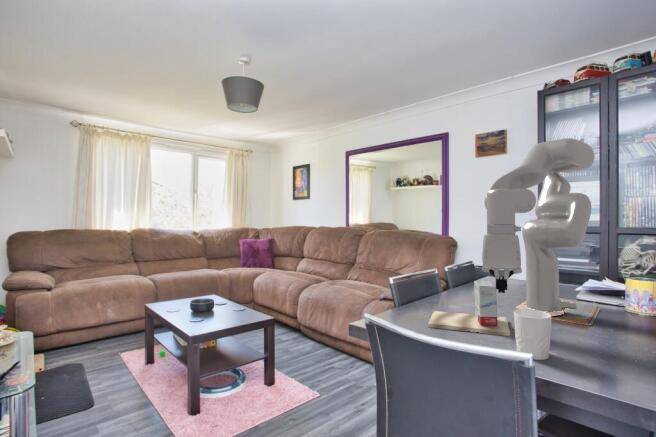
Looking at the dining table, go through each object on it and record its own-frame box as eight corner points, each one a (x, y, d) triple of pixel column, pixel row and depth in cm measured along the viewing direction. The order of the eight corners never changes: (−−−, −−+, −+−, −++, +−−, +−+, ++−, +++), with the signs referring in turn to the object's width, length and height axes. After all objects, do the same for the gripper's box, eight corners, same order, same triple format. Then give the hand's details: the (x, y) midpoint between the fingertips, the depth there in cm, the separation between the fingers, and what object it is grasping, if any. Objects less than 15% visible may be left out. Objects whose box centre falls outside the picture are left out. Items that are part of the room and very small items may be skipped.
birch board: (506, 321, 108) (506, 317, 108) (510, 336, 96) (510, 331, 96) (433, 314, 117) (433, 310, 117) (428, 327, 104) (428, 323, 104)
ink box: (498, 326, 100) (497, 286, 100) (480, 326, 101) (478, 286, 101) (491, 317, 108) (490, 280, 108) (474, 317, 109) (473, 280, 109)
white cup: (508, 348, 87) (507, 309, 87) (539, 347, 87) (539, 308, 87) (524, 361, 80) (524, 318, 79) (559, 361, 79) (559, 318, 79)
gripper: (527, 230, 103) (528, 291, 103) (473, 229, 108) (474, 287, 109) (531, 231, 96) (532, 297, 96) (473, 231, 102) (474, 292, 102)
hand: (501, 291), depth 102 cm, fingers closed
